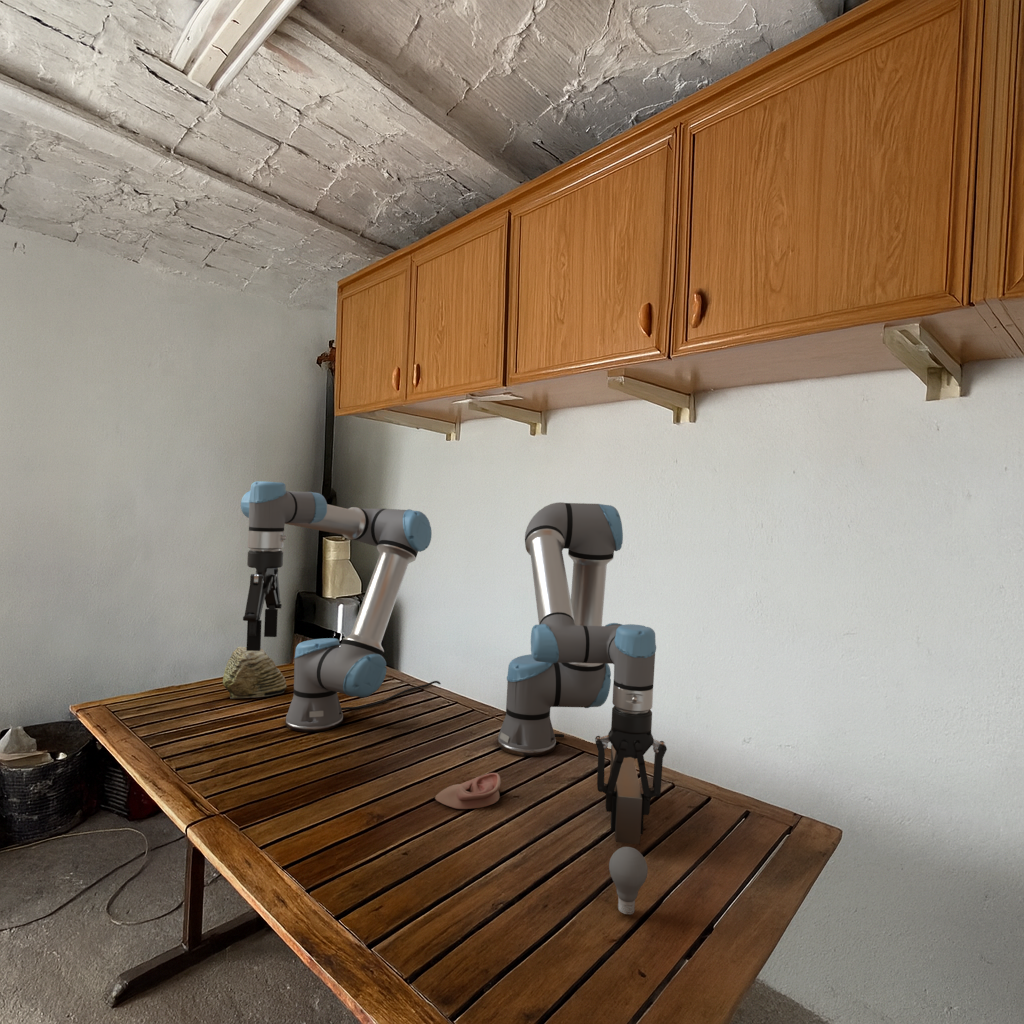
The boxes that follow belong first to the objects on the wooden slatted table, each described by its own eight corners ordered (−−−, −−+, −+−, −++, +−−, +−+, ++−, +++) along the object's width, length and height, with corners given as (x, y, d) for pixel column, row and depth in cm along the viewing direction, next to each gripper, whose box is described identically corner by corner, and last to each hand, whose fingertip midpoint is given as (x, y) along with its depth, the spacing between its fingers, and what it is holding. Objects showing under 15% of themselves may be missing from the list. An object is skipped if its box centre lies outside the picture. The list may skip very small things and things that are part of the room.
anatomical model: (430, 786, 132) (447, 764, 143) (430, 805, 132) (446, 781, 143) (492, 795, 129) (504, 771, 140) (492, 814, 129) (504, 789, 140)
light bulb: (603, 900, 103) (606, 839, 103) (639, 899, 103) (642, 839, 103) (612, 924, 97) (615, 860, 97) (650, 924, 97) (653, 860, 97)
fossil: (218, 695, 195) (220, 647, 195) (278, 685, 208) (279, 640, 207) (228, 703, 189) (230, 653, 188) (289, 692, 201) (290, 645, 201)
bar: (609, 782, 142) (611, 744, 142) (629, 784, 141) (631, 746, 141) (615, 842, 117) (617, 796, 117) (640, 844, 117) (642, 798, 117)
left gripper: (267, 555, 131) (264, 657, 132) (295, 546, 156) (292, 631, 156) (230, 554, 130) (226, 656, 131) (264, 545, 155) (260, 631, 155)
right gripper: (586, 710, 118) (580, 834, 118) (682, 718, 116) (676, 844, 116) (585, 698, 125) (580, 815, 126) (676, 705, 123) (670, 823, 124)
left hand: (262, 643), depth 143 cm, fingers open, 13 cm apart
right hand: (626, 828), depth 121 cm, fingers closed on bar, 4 cm apart
